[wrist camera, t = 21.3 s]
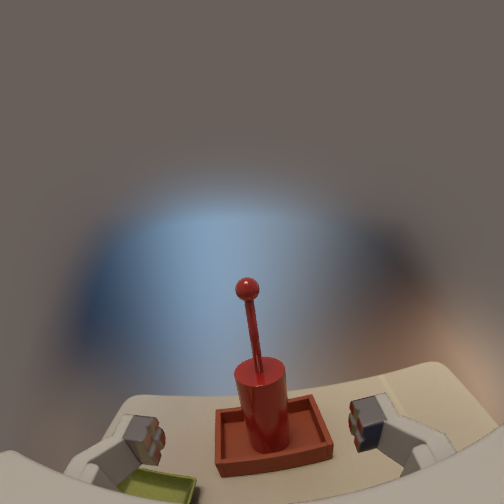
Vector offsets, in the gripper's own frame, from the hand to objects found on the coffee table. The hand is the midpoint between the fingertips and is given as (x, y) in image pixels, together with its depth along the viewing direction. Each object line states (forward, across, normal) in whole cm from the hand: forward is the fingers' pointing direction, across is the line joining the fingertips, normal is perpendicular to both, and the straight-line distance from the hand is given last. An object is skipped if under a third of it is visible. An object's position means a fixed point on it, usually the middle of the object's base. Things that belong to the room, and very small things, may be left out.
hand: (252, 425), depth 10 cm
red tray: (+12, 0, +17) cm, 20 cm away
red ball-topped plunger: (+12, 0, +16) cm, 20 cm away
